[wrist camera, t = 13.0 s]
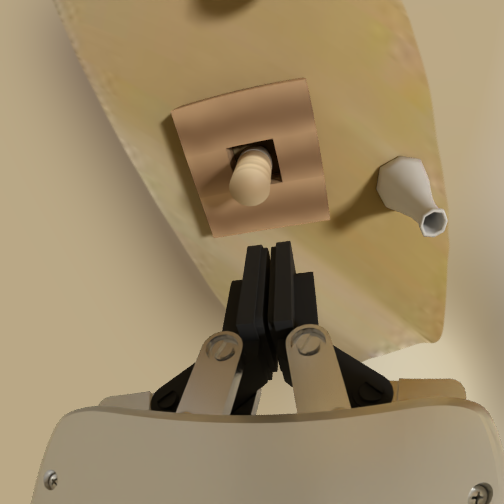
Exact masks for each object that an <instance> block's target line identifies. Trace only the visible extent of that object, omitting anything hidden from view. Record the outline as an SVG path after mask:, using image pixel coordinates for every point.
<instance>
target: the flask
mask: <svg viewBox="0 0 504 504" xmlns="http://www.w3.org/2000/svg"><path fill="white" fill-rule="evenodd" d="M376 190H377V191H378V193H379V195H380V197H381V199H382V201H383V203H384V205H385V207H387V208H390V209H392V210H395V211H398V212H400V213H403V214H405V215H407V216H409V217H411V218H413V219H414V220H415V221H416V222H417V223H418V224H419V227H420V229H421V232H422V234H423V236H425V237H435V236H437V235H439V234H441V233H442V232H444V230H445V227H446V224H447V221H448V220H447V217H446V214H445V211H444V210H443V209H440V208H438V207H437V206H436V204H435V203H434V201H433V198H432V194H431V189H430V183H429V178H428V176H427V173H426V171H425V169H424V166H423V164H422V162H421V159H416V158H410V157H403V156H399V157H397V158H395V159H394V160H392V161H390V162H388V163H387V164H385V165H383V166H381V167H380V170H379V176H378V182H377V188H376Z"/></svg>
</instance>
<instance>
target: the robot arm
mask: <svg viewBox="0 0 504 504" xmlns="http://www.w3.org/2000/svg"><path fill="white" fill-rule="evenodd" d="M278 362H279V365H280V369H281V371H282V372H283V376H284V380H285V382H286V383H288V384H289V385H290V386H291V387H293V390H294V396H295V402H296V408H297V414H279V415H256V412H257V408H258V404H259V400H260V396H261V387H263V386H264V385H265V384H266V383H267V382H268V380H272V374H273V372H277V370H278ZM31 504H504V451H503V447H502V443H501V440H500V436H499V433H498V430H497V428H496V425H495V423H494V421H493V419H492V417H491V415H490V414H489V412H488V411H487V410H486V409H485V408H484V407H483V406H481V405H480V404H478V403H476V402H473V401H469V400H466V392H465V388H464V387H463V385H462V384H461V383H460V382H458V381H457V380H454V379H402V378H400V379H399V381H389V380H387V379H386V378H385V377H384V376H382V375H381V374H379V373H377V372H376V371H374V370H372V369H371V368H369V367H367V366H365V365H364V364H362V363H361V362H359V361H358V360H356V359H354V358H353V357H351V356H350V355H348V354H346V353H345V352H343V351H342V350H340V349H338V348H337V347H335V346H334V345H333V344H332V341H331V337H330V335H329V333H328V331H327V330H325V329H324V328H323V327H321V326H318V315H317V304H316V295H315V285H314V276H313V272H306V273H298V274H296V272H295V266H294V260H293V254H292V248H291V243H290V241H286V242H278V243H276V247H271V260H270V255H269V251H268V248H263V246H262V245H255V246H248V248H247V254H246V260H245V267H244V273H243V280H236V281H232V283H231V287H230V292H229V297H228V303H227V308H226V313H225V319H224V325H223V330H222V332H218V333H215V334H213V335H212V336H210V337H209V338H208V339H207V340H206V341H205V342H204V344H203V345H202V348H201V350H200V353H199V355H198V358H197V360H196V362H195V363H194V364H193V365H191V366H190V367H189V368H187V369H186V370H184V371H183V372H182V373H180V374H179V375H177V376H176V377H175V378H173V379H172V380H171V381H169V382H168V383H166V384H165V385H163V386H162V387H161V388H159V389H158V390H157V391H156V392H155V393H151V392H150V391H148V392H142V393H135V394H127V395H119V396H110V397H107V398H105V399H104V400H102V401H101V402H100V404H99V406H92V407H85V408H81V409H77V410H74V411H71V412H69V413H67V414H66V415H64V416H63V417H62V418H61V419H60V420H59V422H58V423H57V425H56V427H55V429H54V431H53V433H52V435H51V437H50V440H49V442H48V445H47V447H46V450H45V453H44V456H43V459H42V462H41V466H40V469H39V472H38V476H37V480H36V484H35V488H34V492H33V496H32V501H31Z"/></svg>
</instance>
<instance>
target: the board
mask: <svg viewBox="0 0 504 504" xmlns="http://www.w3.org/2000/svg"><path fill="white" fill-rule="evenodd" d="M171 114H172V117H173V120H174V124H175V127H176V130H177V133H178V136H179V139H180V142H181V145H182V148H183V151H184V154H185V157H186V160H187V163H188V165H189V168H190V171H191V174H192V177H193V180H194V183H195V186H196V189H197V192H198V195H199V197H200V200H201V203H202V206H203V209H204V212H205V214H206V217H207V220H208V223H209V226H210V228H211V231H212V234H213V237H214V238H218V237H224V236H230V235H236V234H242V233H248V232H254V231H261V230H267V229H273V228H280V227H286V226H292V225H299V224H305V223H312V222H318V221H325V220H330V214H329V207H328V199H327V192H326V185H325V178H324V172H323V166H322V159H321V153H320V147H319V142H318V136H317V130H316V125H315V120H314V115H313V110H312V105H311V100H310V95H309V90H308V85H307V81H306V79H305V78H298V79H292V80H286V81H281V82H275V83H270V84H265V85H260V86H255V87H251V88H246V89H242V90H238V91H234V92H230V93H226V94H222V95H218V96H214V97H210V98H207V99H203V100H200V101H196V102H193V103H190V104H186V105H183V106H180V107H178V108H176V109H174V110H172V111H171ZM268 139H273V141H274V145H275V150H276V154H277V159H278V163H279V167H280V172H281V173H277V174H271V183H270V192H269V195H268V197H267V199H266V200H265V201H264V202H262V203H261V204H259V205H256V206H245V205H242V204H240V203H238V202H237V201H235V200H234V198H233V197H232V196H231V193H230V190H229V184H230V180H231V178H232V175H233V172H234V170H235V167H236V165H237V164H236V161H235V157H234V153H233V150H232V147H234V146H239V145H243V144H248V143H253V142H258V141H263V140H268Z"/></svg>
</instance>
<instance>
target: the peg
mask: <svg viewBox="0 0 504 504" xmlns="http://www.w3.org/2000/svg"><path fill="white" fill-rule="evenodd" d="M271 171H272V157H271V154H270V152H269V151H268V150H267V149H266V148H264V147H263V146H260V145H252V146H249V147H247V148H245V149H244V150H243V151H242V152H241V154H240V156H239V158H238V161H237V165H236V167H235V170H234V172H233V175H232V178H231V180H230V184H229V190H230V193H231V196H232V197H233V198H234V200H235V201H237V202H238V203H240V204H242V205H245V206H256V205H259V204H261V203H262V202H264V201H265V200H266V199H267V197H268V195H269V192H270V183H271Z"/></svg>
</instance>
